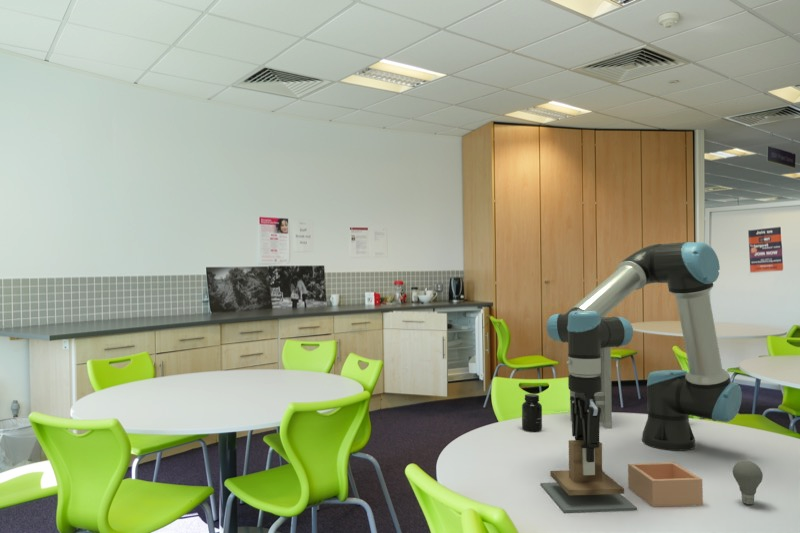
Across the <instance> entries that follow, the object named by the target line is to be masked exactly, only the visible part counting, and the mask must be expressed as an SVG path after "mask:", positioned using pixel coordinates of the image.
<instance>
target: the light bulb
mask: <svg viewBox="0 0 800 533" xmlns="http://www.w3.org/2000/svg"><path fill="white" fill-rule="evenodd" d="M732 475H733V478H734V479H735V481H736V483H737V484H738V488H739V491H740V492H741V502H742V503H744V504H745V503H746V505H749V504H751V505H754V504H755V495H756V493H757V489H758V487H759V486H760V484H761V483H762V482H763V478H764V476H763V475H764V474H763V471H762V469H761V467H760V466H759V465H758V464H757V463H755V462H754V461H751V460H747V459H742V460H739V461H737V462H735V464H734V466H733V467H732Z"/></svg>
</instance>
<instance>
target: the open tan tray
mask: <svg viewBox="0 0 800 533" xmlns="http://www.w3.org/2000/svg"><path fill="white" fill-rule="evenodd" d="M627 472H628V474H627V475H628V476H627V477H628V479H627V481H628V482H627V483H628V484H627V486H628V487H627V488H628V489H629V490H631V491H632V492H633V493H635V494H636V495H637V496H638V497H640V498H641V499H642V500H643V501H645V502H646V503H647V504H648V505H649V506H651V507H652V508H660V507H661V508H663V507H687V506H688V507H691V506H690V505H696V506H703V505H704V504H703V503H704V502H703V499H704V495H703V494H704V493H703V491H704V490H703V479H702V478H700V477H699V476H698V475H696V474H694V473H693V472H691V471H689V470H687V469H686V468H684V467H683V466H681V465H679V464H677V463H676V462H642V463H627Z"/></svg>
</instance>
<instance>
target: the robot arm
mask: <svg viewBox="0 0 800 533" xmlns="http://www.w3.org/2000/svg"><path fill="white" fill-rule="evenodd" d="M719 270H721V269H720V261H719V258H718V256H717V253H716V252H715V250H714V248H713V247H712V246H710V245H709V244H707V243H705V242H700V241H698V242H697V241H696V242H693V241H683V242H672V243H671V242H669V243H657V244H656V243H655V244H652V245H651V244H650V245H647V246H645V247H643V248H641V249H639V250H636V252H634V253H632V254H630V255H629V256H627V257H626V258H624V260H622V261H621V262H619V264H618V265H617V266H616V268H615V271H614V272H613V273H611V275H610V276H608V277H607V278H606V279H605V280H603V281H602V282H601V283H600V284H599V285H598V286H596V287H595V288H594V289H593V290H592V291H590V292H589V293H588V294H587V295H586V296H585V297H583V298H582V299H581V300H580V301H578V302H577V303H576V304H575V305H574V306H573V307H571V308H570V309H569V310H567V312H566V313H555V314H552V315H551V316H549V318H548V320H547V321H546V332H547V334H548V337H549V338H550V339H552V340H553V341H557V342H562V343H567V348H568V349H567V350H568V353H567V355H568V357H567V358H568V360H567V361H566V365H567V366H568V368H567V369H568V372H569V374H568V375H567V380H568V382H567V384H568V386H567V387H568V388H567V389H568V390H569V391H570V390H571V391H573V392H575V396H570V395H569V403H570V402H571V416H572V421H571V436H572V437H574V440H584V445H581V447H582V457H583V475H595V448H599V442H600V427H601V425H600V423H601V422H600V413H601V408H600V407H596V401H595V396H594V394H595V393H598V392H600V391H601V377H600V376H598V375H599V374H600V373H601V357H600V348H608V347H611V348H620V347H623V346H625V345H629V343H630V342H631V341H632V339H633V336H634V328H633V325H632V324H631V322H630V321H629V320H628V319H626V318H625V317H622V316H611V317H610V316H607V315H608V314H609V313H610V312H611V311H613V310H614V309H615V308H616V307H618V305H619V304H620V303H621V302H622V301H624V300H625V299H626V298H628V296H629V295H630V294H632V293H633V292H634V291H636V290H638V291H639V290H641V289H643V288H644V287H645V286H646V285H648V284H656V283H657V284H662V283H663V284H667V287H668V292H669V293H670V294H672V295H674V296H675V298H676V300H675V301H676V305H677V311H678V315H679V320H680V327H681V332H682V336H683V342H684V347H685V348H684V349H685V352H686V357H687V358H686V359H687V363H688V369H689V371H687V370H684V369H669V370H668V369H666V370H654V371H650V372H649V374H647V383H646V388H647V391H646V394H647V419H646V422H645V425H644V428H643V430H642V433H641V434H642V439H641V440H642V442H643V444H645V445H647V446H650V447H653V448H657V449H662V450H670V451H689V450H692V449H694V448H695V447H696V440H695V439H696V438H695V436H694V433H693V430H692V428H691V424H690V420H689V421H688V415H689V416H692V417H696V418H697V417H698V418H703V419H707V420H712V421H714V422H716V421H717V422H723V423H724V422H725V423H727V422H730V421H731V422H732V420H734V419H735V418H736V417H737V415H738V413H739V411H740V408H741V405H742V401H743V400H742V399H743V393H742V392H743V391H742V388H741V386H740V385H739V384H738V383H736V382H732V381H731V378H730V377H731V376H730V373H729V372H728V371H727V370H726V369H724V368H723V365H722V359H721V355H720V349H719V343H718V338H717V331H716V327H715V322H714V320H715V319H714V315H713V309H712V304H711V300H710V299H711V298H710V291H711V290H712V289H713V288H714V283H715V282H717V280H718V278H719V275H720V272H719ZM570 373H571V374H570Z"/></svg>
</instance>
